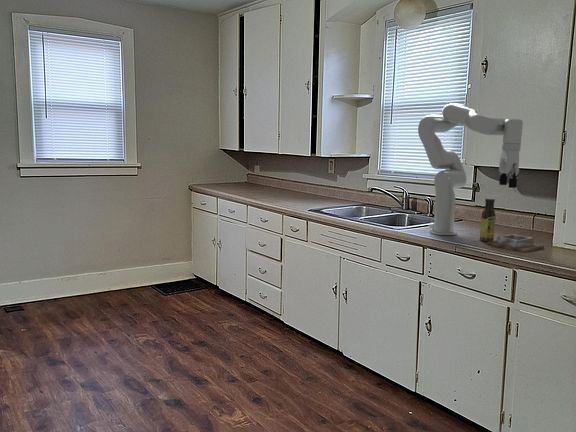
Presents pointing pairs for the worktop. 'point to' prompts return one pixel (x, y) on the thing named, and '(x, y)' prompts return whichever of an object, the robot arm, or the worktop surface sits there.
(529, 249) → the condiment board
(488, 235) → the sauce bottle
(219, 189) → the worktop surface
